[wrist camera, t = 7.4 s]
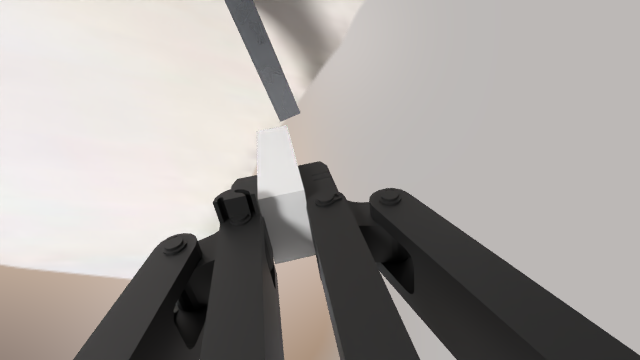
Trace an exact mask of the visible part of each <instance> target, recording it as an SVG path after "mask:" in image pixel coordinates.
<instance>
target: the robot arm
mask: <svg viewBox="0 0 640 360" xmlns="http://www.w3.org/2000/svg"><path fill="white" fill-rule="evenodd" d="M213 205H214V208H215V210H216V213H217V216H218V219H219V222H220V229H219V231H218V232H216V233H215V234H213V235H211V236H209V237H207V238H204V239H202V240H199V241H197V238H196V236H194V235H192V234H188V233H183V234H177V235H174V236H171V237H169V238H167V239H166V240H164V241H162V242H161V243H160V244H159V245H158V246H157V247H156V248H155V249H154V250H153V252H152V253H151V254H150V256H149V257H148V258H147V260H146V261H145V263H144V264H143V265H142V267H141V268H140V269H139V271H138V272H137V273H136V275H135V276H134V278H133V279H132V280H131V282H130V283H129V284H128V286H127V287H126V288H125V290H124V291H123V293H122V294H121V295H120V297H119V298H118V299H117V301H116V302H115V303H114V305H113V306H112V307H111V309H110V310H109V312H108V313H107V314H106V316H105V317H104V318H103V320H102V321H101V323H100V324H99V325H98V327H97V328H96V329H95V331H94V332H93V333H92V335H91V336H90V337H89V339H88V340H87V342H86V343H85V344H84V346H83V347H82V348H81V350H80V351H79V352H78V354H77V355H76V357H75V358H74V359H73V360H199V359H200V360H284V353H283V341H282V329H281V318H280V307H279V294H278V283H277V273H276V270H275V266H274V261H275V264H277V263H282V262H286V261H291V260H296V259H300V258H304V257H309V256H313V255H316V257H317V263H318V268H319V273H320V278H321V281H322V284H323V288H324V292H325V297H326V301H327V305H328V310H329V314H330V318H331V322H332V326H333V330H334V335H335V339H336V343H337V347H338V352H339V356H340V360H420V358H419V356H418V354H417V352H416V350H415V348H414V346H413V343H412V341H411V339H410V337H409V335H408V332H407V330H406V328H405V326H404V324H403V322H402V319H401V317H400V315H399V313H398V311H397V308H396V306H395V304H394V302H393V300H392V298H391V295H390V293H389V291H388V289H387V287H386V285H385V282H384V280H383V278H382V276H381V274H380V272H381V273H382V274H383V276H384V277H386V279H387V280H388V281H389V282H390V284H391V285H392V286H393V287H394V288H395V289H396V290H397V292H398V293H399V294H400V295H401V296H402V297H403V298H404V300H405V301H406V302H407V303H408V304H409V305H410V306H411V308H412V309H413V310H414V311H415V312H416V313H417V315H418V316H419V317H420V318H421V319H422V320H423V321H424V322H425V324H426V325H427V326H428V327H429V328H430V329H431V330H432V332H433V333H434V334H435V335H436V336H437V337H438V339H439V340H440V341H441V342H442V343H443V344H444V346H445V347H446V348H447V349H448V350H449V351H450V352H451V354H452V355H453V356H454V357H455V358H456V359H457V360H640V355H638V354H637V353H636V352H634V351H633V350H631V349H630V348H628V347H627V346H625V345H624V344H623V343H621V342H620V341H618V340H617V339H616V338H614V337H612V336H611V335H610V334H609V333H607V332H606V331H604V330H603V329H601V328H600V327H599V326H597V325H596V324H594V323H593V322H591V321H590V320H588V319H587V318H586V317H584V316H583V315H581V314H580V313H579V312H577V311H576V310H574V309H573V308H571V307H570V306H569V305H567V304H566V303H564V302H563V301H561V300H560V299H559V298H557V297H556V296H554V295H553V294H551V293H550V292H549V291H547V290H546V289H544V288H543V287H541V286H540V285H538V284H537V283H536V282H534V281H533V280H531V279H530V278H529V277H527V276H526V275H524V274H523V273H521V272H520V271H519V270H517V269H515V268H514V267H513V266H512V265H510V264H509V263H507V262H506V261H504V260H503V259H502V258H500V257H499V256H497V255H496V254H494V253H493V252H491V251H490V250H489V249H487V248H486V247H484V246H483V245H481V244H480V243H479V242H477V241H476V240H474V239H473V238H471V237H470V236H469V235H467V234H466V233H464V232H463V231H461V230H460V229H459V228H457V227H456V226H454V225H453V224H452V223H450V222H449V221H447V220H446V219H444V218H443V217H441V216H440V215H439V214H437V213H436V212H434V211H433V210H432V209H430V208H429V207H427V206H426V205H424V204H423V203H422V202H420V201H419V200H417V199H416V198H414V197H413V196H412V195H410V194H409V193H407V192H405V191H403V190H400V189H395V188H386V189H382V190H378V191H377V192H375V193H373V194H372V195H371V196H370V201H369V202H364V203H358V202H351V201H347V200H346V198H345V196H344V195H343V194H342V193H340V192H338V189H337V187H336V185H335V183H334V181H333V178H332V176H331V174H330V172H329V169H328V167H327V165H325V164H323V163H322V162H314V163H309V164H304V165H299V166H298V165H297V161H296V158H295V154H294V150H293V146H292V142H291V139H290V135H289V131H288V127H287V125H286V126H281V127H276V128H270V129H265V130H260V131H257V175H255V176H250V177H245V178H240V179H237V180H236V181H235V182H234V184H233V185H232V187H231V189H230V190H227V191H225V192H223V193H221V194H220V195H218V196H217V197H216V198H215V199H214V201H213ZM273 257H274V260H273ZM379 271H380V272H379Z"/></svg>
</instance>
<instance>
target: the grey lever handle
mask: <svg viewBox="0 0 640 360" xmlns="http://www.w3.org/2000/svg"><path fill="white" fill-rule="evenodd" d="M225 2H226V5H227V7H228V9H229V11H230V13H231V15H232V18H233V20H234V22H235V24H236V26H237V28H238V31H239V33H240V35H241V37H242V39H243V42H244V44H245V46H246V48H247V50H248V52H249V55H250V57H251V59H252V61H253V63H254V65H255V68H256V70H257V72H258V74H259V76H260V78H261V81H262V83H263V85H264V87H265V89H266V91H267V94H268V96H269V98H270V100H271V102H272V104H273V107H274V109H275V111H276V113H277V115H278V118H279V120H280V122H281V121H283V120H286V119H288V118H290V117H292V116H295V115H297V114H299V113H300V111H299V108H298V106H297V104H296V101H295V99H294V97H293V94H292V92H291V89H290V87H289V85H288V82H287V80H286V78H285V75H284V73H283V71H282V68H281V66H280V63H279V61H278V59H277V56H276V54H275V52H274V49H273V47H272V44H271V42H270V40H269V37H268V35H267V33H266V30H265V28H264V26H263V23H262V21H261V18H260V16H259V14H258V11H257V9H256V7H255V4H254V2H253V0H225Z"/></svg>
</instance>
